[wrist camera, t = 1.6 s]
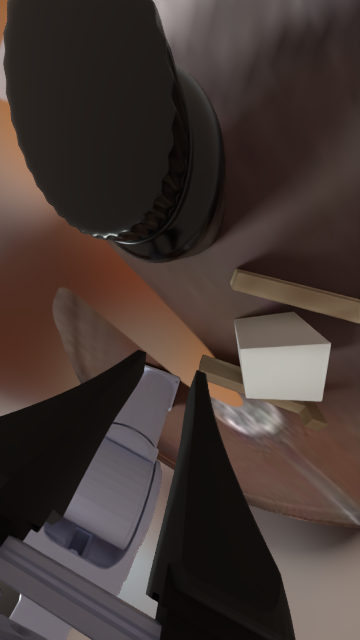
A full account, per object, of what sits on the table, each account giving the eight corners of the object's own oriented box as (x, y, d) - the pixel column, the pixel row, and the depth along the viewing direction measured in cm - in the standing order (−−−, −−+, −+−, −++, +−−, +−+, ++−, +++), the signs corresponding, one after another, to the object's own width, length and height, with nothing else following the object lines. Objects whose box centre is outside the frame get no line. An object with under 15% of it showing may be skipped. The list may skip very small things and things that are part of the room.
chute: (299, 395, 19) (318, 431, 16) (200, 361, 21) (195, 386, 17) (388, 306, 13) (458, 330, 9) (235, 268, 15) (240, 275, 11)
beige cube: (291, 356, 17) (322, 401, 12) (239, 358, 19) (245, 398, 14) (293, 310, 15) (331, 343, 10) (233, 318, 17) (239, 349, 12)
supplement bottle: (191, 146, 12) (-46, -715, 1) (239, 220, 13) (316, 99, 3) (141, 217, 15) (-47, 141, 4) (183, 270, 16) (115, 309, 6)
